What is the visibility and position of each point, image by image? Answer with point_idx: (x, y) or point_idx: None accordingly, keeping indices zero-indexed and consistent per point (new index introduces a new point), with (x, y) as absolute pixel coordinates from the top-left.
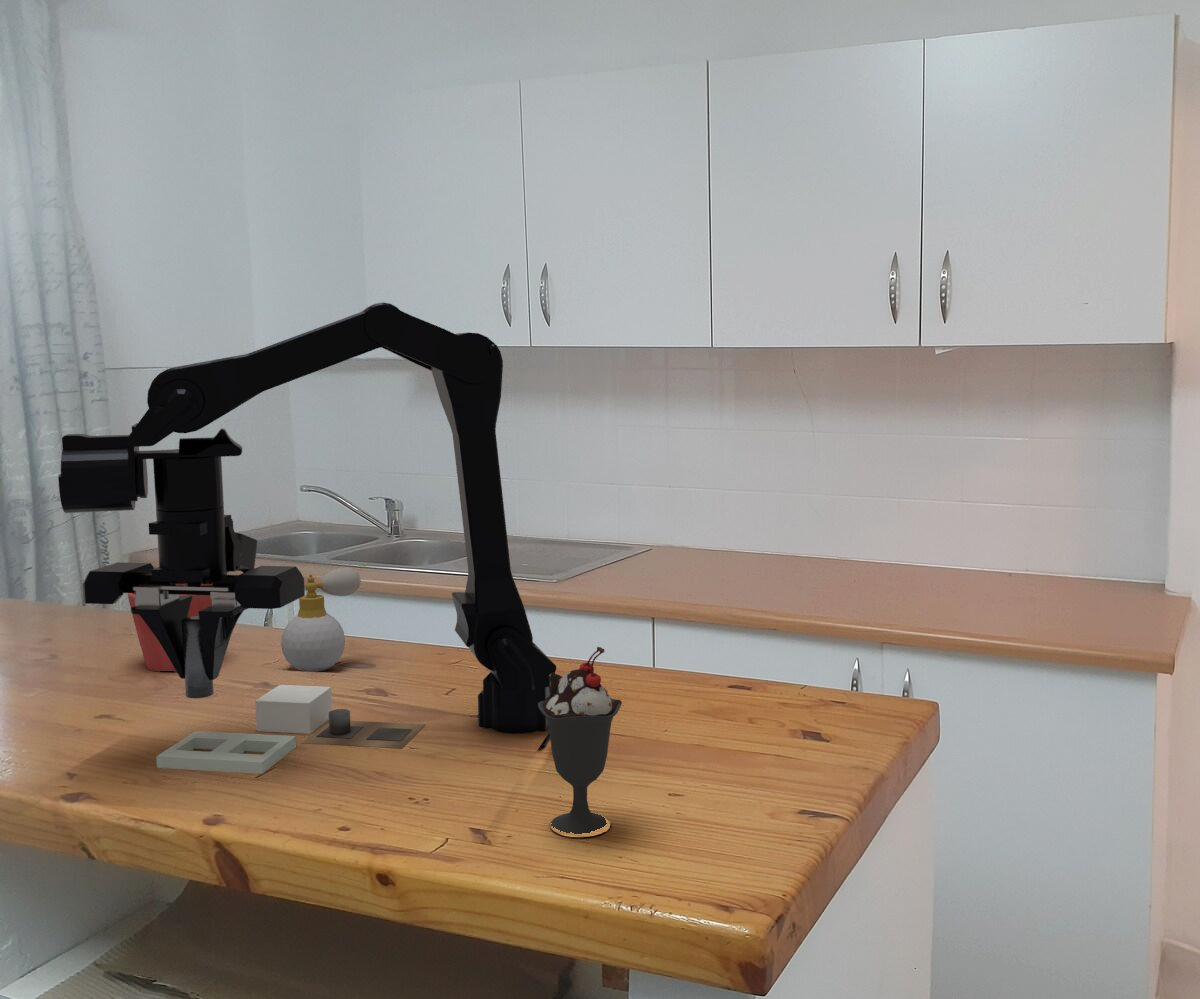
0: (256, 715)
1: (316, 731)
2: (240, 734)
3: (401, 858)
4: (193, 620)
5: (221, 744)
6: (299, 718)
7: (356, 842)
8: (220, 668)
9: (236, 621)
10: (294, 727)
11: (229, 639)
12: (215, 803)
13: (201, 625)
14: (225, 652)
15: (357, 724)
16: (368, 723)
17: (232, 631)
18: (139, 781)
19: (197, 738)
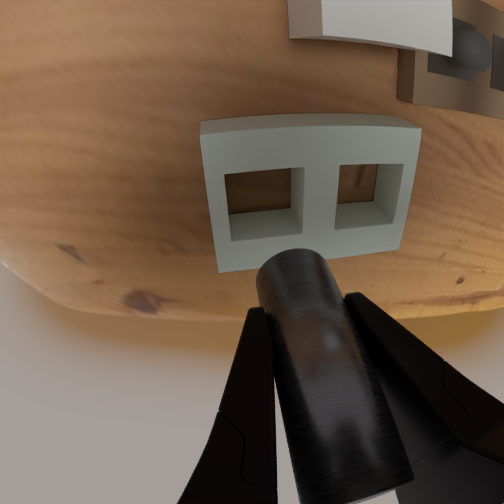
0: (310, 36)
1: None
2: (316, 134)
3: (484, 302)
4: (358, 502)
5: (304, 195)
6: (410, 48)
7: (465, 295)
8: (375, 305)
9: (502, 407)
10: (388, 45)
11: (448, 365)
12: (334, 273)
13: (399, 491)
14: (413, 336)
15: (463, 8)
16: (474, 5)
17: (472, 383)
18: (181, 243)
19: (231, 172)
